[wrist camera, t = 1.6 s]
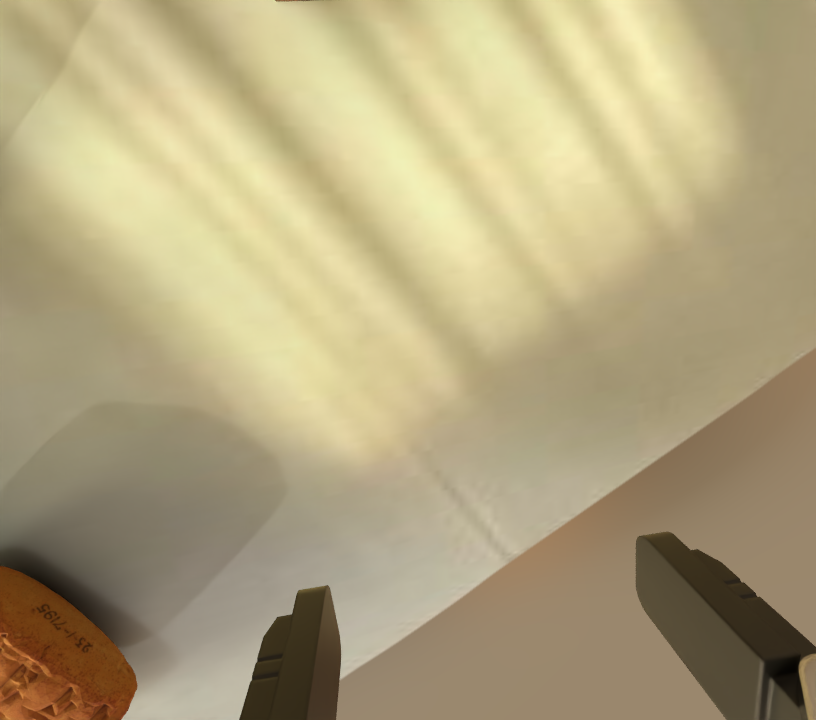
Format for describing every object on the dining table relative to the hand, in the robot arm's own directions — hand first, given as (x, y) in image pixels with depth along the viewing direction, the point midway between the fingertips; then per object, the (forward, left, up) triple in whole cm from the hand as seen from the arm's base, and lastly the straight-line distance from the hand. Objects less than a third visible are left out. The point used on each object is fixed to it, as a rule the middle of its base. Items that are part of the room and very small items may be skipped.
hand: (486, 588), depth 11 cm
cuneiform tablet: (-29, -42, -34) cm, 61 cm away
